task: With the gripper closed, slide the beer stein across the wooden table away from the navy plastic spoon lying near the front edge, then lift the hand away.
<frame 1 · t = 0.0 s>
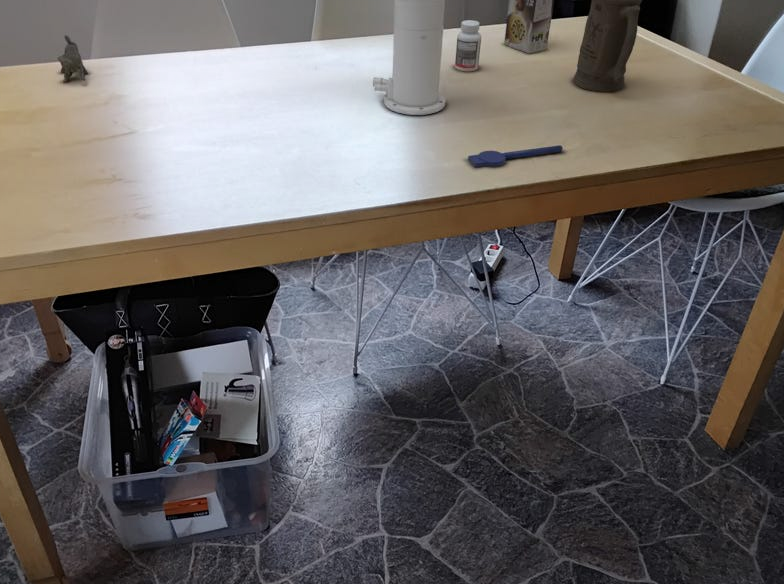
spoon: (514, 157, 130), on the table
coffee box: (524, 47, 178), on the table
dog figurine: (74, 78, 159), on the table
beer stein: (604, 88, 158), on the table
pill bottle: (466, 68, 166), on the table
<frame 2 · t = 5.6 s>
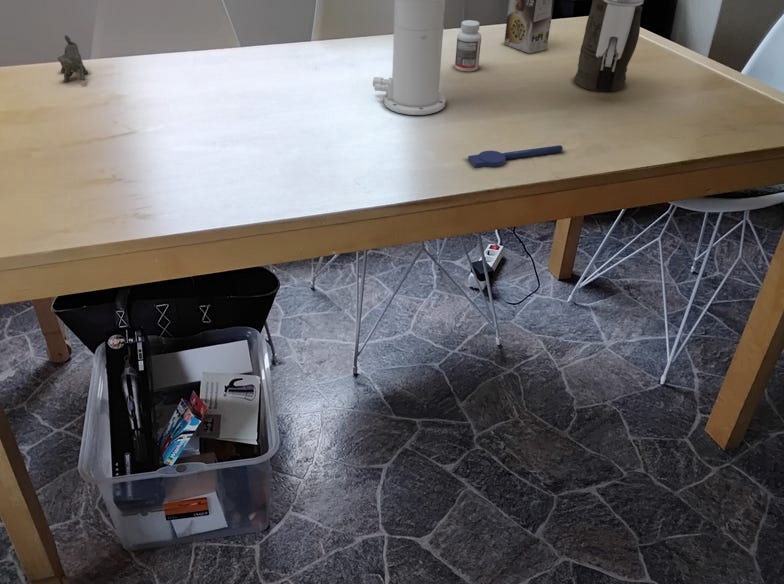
hand: (603, 88, 150), 2 cm above the table, tool pointing down, fingers closed
nothing on the table moved.
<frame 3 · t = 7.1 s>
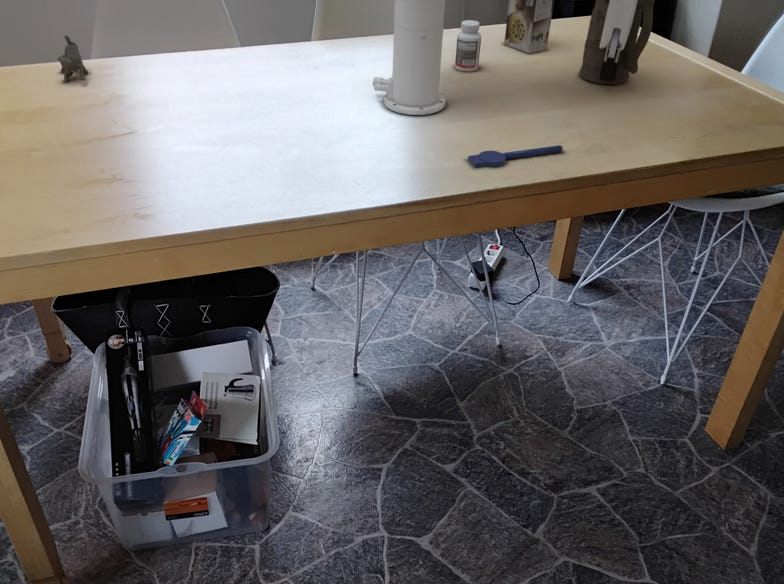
hand: (606, 79, 155), 2 cm above the table, tool pointing down, fingers closed
beer stein: (611, 80, 161), on the table, touching arm, gripper
everything else where it was.
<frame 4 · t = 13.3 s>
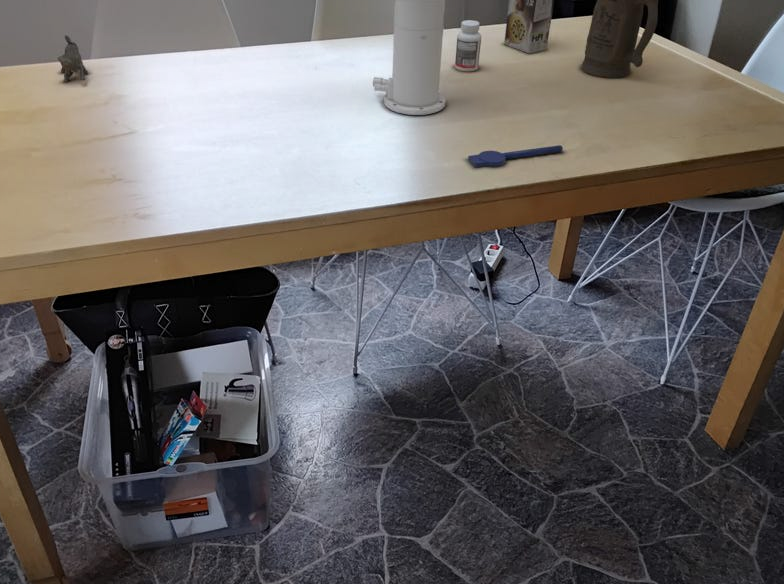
beer stein: (614, 73, 165), on the table
everything else where it was.
at the end: beer stein inside the target area (2.7 cm from its centre), on the table; beer stein tilted 2°; spoon moved 0.0 cm from its start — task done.
